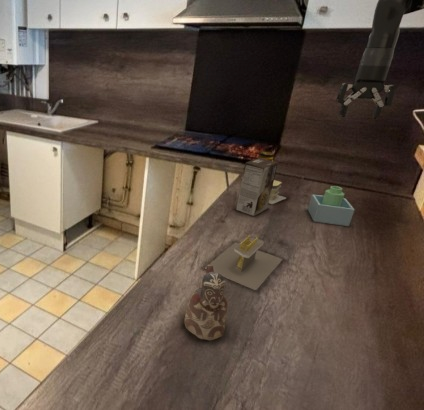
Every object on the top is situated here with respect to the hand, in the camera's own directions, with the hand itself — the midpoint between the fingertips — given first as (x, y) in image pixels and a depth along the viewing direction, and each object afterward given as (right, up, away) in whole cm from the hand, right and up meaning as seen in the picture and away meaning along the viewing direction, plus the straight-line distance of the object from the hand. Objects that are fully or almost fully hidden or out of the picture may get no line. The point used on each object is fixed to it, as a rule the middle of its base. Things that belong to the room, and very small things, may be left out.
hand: (357, 117), depth 116 cm
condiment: (-20, -19, +26) cm, 38 cm away
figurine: (-67, -51, -49) cm, 97 cm away
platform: (-50, -43, -29) cm, 72 cm away
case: (-13, -32, -4) cm, 35 cm away
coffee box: (-34, -30, +1) cm, 45 cm away
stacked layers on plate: (-24, -26, +11) cm, 37 cm away
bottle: (-13, -32, -4) cm, 35 cm away
